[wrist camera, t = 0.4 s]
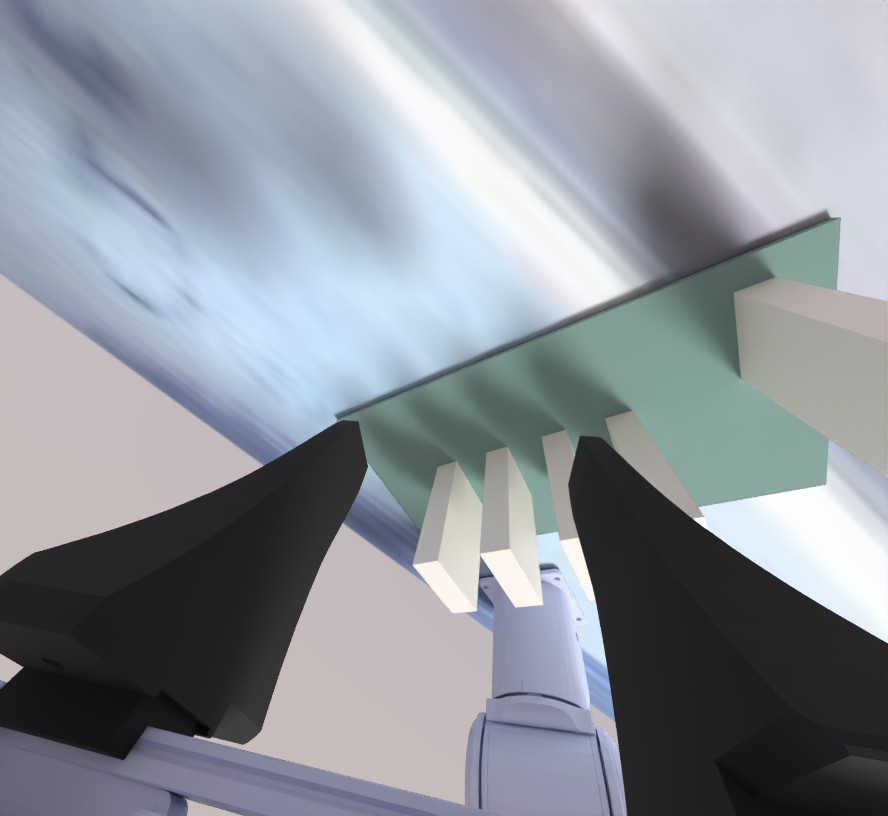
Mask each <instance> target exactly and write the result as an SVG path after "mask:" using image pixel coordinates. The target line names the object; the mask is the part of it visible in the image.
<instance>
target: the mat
mask: <svg viewBox="0 0 888 816" xmlns="http://www.w3.org/2000/svg"><path fill="white" fill-rule="evenodd" d="M840 221H841V218H830V219H828V220H825V221H823V222H820V223H818V224H815V225H813V226H811V227H808V228H806V229H803V230H801V231H798V232H796V233H793V234H791V235H788V236H786V237H783V238H781V239H779V240H776V241H774V242H771V243H769V244H766V245H764V246H761V247H759V248H756V249H754V250H751V251H749V252H746V253H744V254H742V255H739V256H737V257H734V258H732V259H729V260H727V261H724V262H722V263H719V264H717V265H714V266H712V267H710V268H707V269H705V270H702V271H700V272H697V273H695V274H692V275H690V276H687V277H685V278H682V279H680V280H678V281H675V282H673V283H670V284H668V285H665V286H663V287H660V288H658V289H655V290H653V291H650V292H648V293H646V294H643V295H641V296H638V297H636V298H633V299H631V300H628V301H626V302H623V303H621V304H618V305H616V306H614V307H611V308H609V309H606V310H604V311H601V312H599V313H596V314H594V315H591V316H589V317H586V318H584V319H582V320H579V321H577V322H574V323H572V324H569V325H567V326H564V327H562V328H559V329H557V330H554V331H552V332H550V333H547V334H545V335H542V336H540V337H537V338H535V339H532V340H530V341H527V342H525V343H522V344H520V345H518V346H515V347H513V348H510V349H508V350H505V351H503V352H500V353H498V354H495V355H493V356H490V357H488V358H486V359H483V360H481V361H478V362H476V363H473V364H471V365H468V366H466V367H463V368H461V369H458V370H456V371H454V372H451V373H449V374H446V375H444V376H441V377H439V378H436V379H434V380H431V381H429V382H426V383H424V384H422V385H419V386H417V387H414V388H412V389H409V390H407V391H404V392H402V393H399V394H397V395H394V396H392V397H390V398H387V399H385V400H382V401H380V402H377V403H375V404H372V405H370V406H367V407H365V408H362V409H360V410H358V411H355V412H353V413H350V414H348V415H345V416H343V417H340V418H338V420H337V422H339V421H341V420H349V421H359V426H360V431H361V436H362V440H363V445H364V450H365V455H366V460H367V462H368V463H369V465H370V466H371V467H372V469H373V470H374V471H375V473H376V474H377V475H378V477H379V478H380V479H381V480H382V482H383V483H384V484H385V486H386V487H387V488H388V490H389V491H390V492H391V494H392V495H393V496H394V498H395V499H396V500H397V502H398V503H399V504H400V505H401V507H402V508H403V509H404V511H405V512H406V513H407V515H408V516H409V517H410V519H411V520H412V521H413V523H414V524H415V525H416V527H417V528H418V529H419V530H420V532H421V530H422V526H423V522H424V518H425V514H426V511H427V507H428V503H429V499H430V495H431V491H432V487H433V484H434V480H435V476H436V472H437V468H438V466H442V465H445V464H449V463H452V462H456V461H457V463H458V464H459V466H460V468H461V469H462V471H463V473H464V474H465V476H466V478H467V479H468V481H469V483H470V484H471V486H472V488H473V489H474V491H475V493H476V494H477V496H478V498H479V499H480V501H481V503H482V504H483V494H484V479H485V465H486V453H487V452H490V451H494V450H497V449H501V448H504V447H508V449H509V451H510V453H511V455H512V457H513V459H514V461H515V463H516V465H517V467H518V469H519V471H520V473H521V475H522V477H523V479H524V481H525V483H526V485H527V487H528V489H529V491H530V493H531V495H532V502H533V511H534V521H535V530H536V535H541V534H546V533H552V532H558V527H557V522H556V516H555V510H554V505H553V499H552V493H551V488H550V482H549V477H548V471H547V465H546V460H545V454H544V448H543V443H542V436H546V435H549V434H553V433H556V432H560V431H563V430H566V432H567V435H568V437H569V440H570V442H571V445H572V448H573V450H574V453H576V449H577V445H578V441H579V436H593V437H601V438H602V439H604V440H605V441H606V442H607V443H608V444H609V445H610V446H611V447H612V448H613V449H614V447H613V444H612V440H611V437H610V434H609V431H608V428H607V425H606V421H605V418H608V417H612V416H615V415H619V414H622V413H626V412H629V411H632V410H633V412H634V413H635V415H636V416H637V418H638V419H639V421H640V422H641V424H642V425H643V427H644V428H645V430H646V431H647V433H648V434H649V436H650V437H651V438H652V440H653V441H654V443H655V444H656V446H657V447H658V449H659V450H660V452H661V453H662V455H663V456H664V458H665V459H666V461H667V462H668V464H669V465H670V467H671V468H672V470H673V471H674V473H675V474H676V476H677V477H678V478H679V480H680V481H681V483H682V484H683V486H684V487H685V489H686V490H687V492H688V493H689V495H690V496H691V498H692V499H693V501H694V502H695V504H696V505H697V507H701V506H706V505H712V504H718V503H724V502H729V501H735V500H741V499H747V498H752V497H758V496H764V495H769V494H775V493H781V492H787V491H792V490H798V489H804V488H809V487H815V486H821V485H826V476H827V458H828V440H829V438H827V437H826V436H824V435H823V434H821V433H820V432H818V431H817V430H815V429H814V428H812V427H811V426H809V425H808V424H806V423H805V422H803V421H802V420H800V419H799V418H797V417H796V416H795V415H793V414H792V413H790V412H789V411H787V410H786V409H784V408H783V407H781V406H780V405H778V404H777V403H775V402H774V401H772V400H771V399H769V398H768V397H766V396H765V395H764V394H762V393H761V392H759V391H758V390H756V389H755V388H753V387H752V386H750V385H749V384H747V383H746V382H744V381H743V380H741V374H740V363H739V351H738V339H737V327H736V316H735V304H734V292H737V291H739V290H742V289H745V288H747V287H750V286H753V285H755V284H758V283H761V282H763V281H766V280H769V279H771V278H774V277H778V278H782V279H787V280H791V281H796V282H801V283H805V284H810V285H814V286H819V287H824V288H828V289H833V290H837V276H838V258H839V239H840Z"/></svg>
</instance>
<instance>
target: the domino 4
mask: <svg viewBox="0 0 888 816" xmlns="http://www.w3.org/2000/svg"><path fill="white" fill-rule="evenodd" d="M734 304H735V316H736V327H737V339H738V351H739V363H740V374H741V380H743V381H744V382H746V383H747V384H749V385H750V386H752V387H753V388H755V389H756V390H758V391H759V392H761V393H762V394H764V395H765V396H766V397H768V398H769V399H771V400H772V401H774V402H775V403H777V404H778V405H780V406H781V407H783V408H784V409H786V410H787V411H789V412H790V413H792V414H793V415H795V416H796V417H797V418H799V419H800V420H802V421H803V422H805V423H806V424H808V425H809V426H811V427H812V428H814V429H815V430H817V431H818V432H820V433H821V434H823V435H824V436H826V437H827V438H829V439H830V440H831V441H833V442H834V443H836V444H837V445H839V446H840V447H842V448H843V449H845V450H846V451H848V452H849V453H851V454H852V455H854V456H855V457H857V458H858V459H860V460H861V461H862V462H864V463H865V464H867V465H868V466H870V467H871V468H873V469H874V470H876V471H877V472H879V473H880V474H882V475H883V476H885V477H886V478H888V301H884V300H879V299H874V298H870V297H865V296H860V295H856V294H851V293H847V292H842V291H837V290H833V289H828V288H824V287H819V286H814V285H810V284H805V283H801V282H796V281H791V280H787V279H782V278H778V277H774V278H771V279H769V280H766V281H763V282H761V283H758V284H755V285H753V286H750V287H747V288H745V289H742V290H739V291H737V292H734Z"/></svg>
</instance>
